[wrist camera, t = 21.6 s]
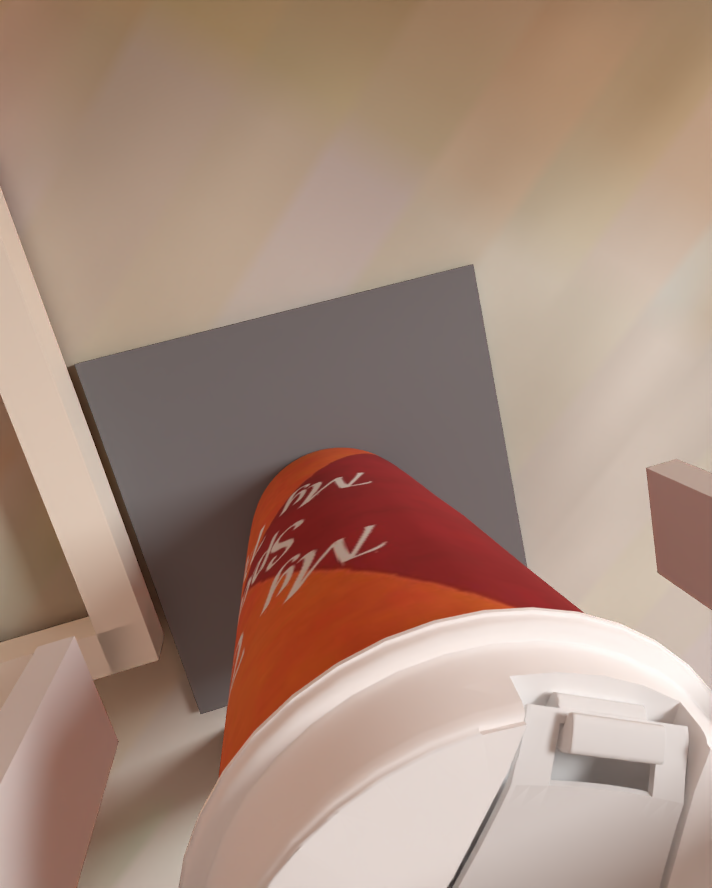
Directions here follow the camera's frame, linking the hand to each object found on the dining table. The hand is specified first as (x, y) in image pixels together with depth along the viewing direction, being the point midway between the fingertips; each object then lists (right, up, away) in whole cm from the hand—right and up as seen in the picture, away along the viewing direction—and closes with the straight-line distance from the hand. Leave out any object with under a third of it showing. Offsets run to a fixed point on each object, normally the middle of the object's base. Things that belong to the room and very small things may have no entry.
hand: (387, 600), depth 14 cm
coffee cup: (-1, +1, +8) cm, 8 cm away
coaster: (-2, +2, +8) cm, 8 cm away
